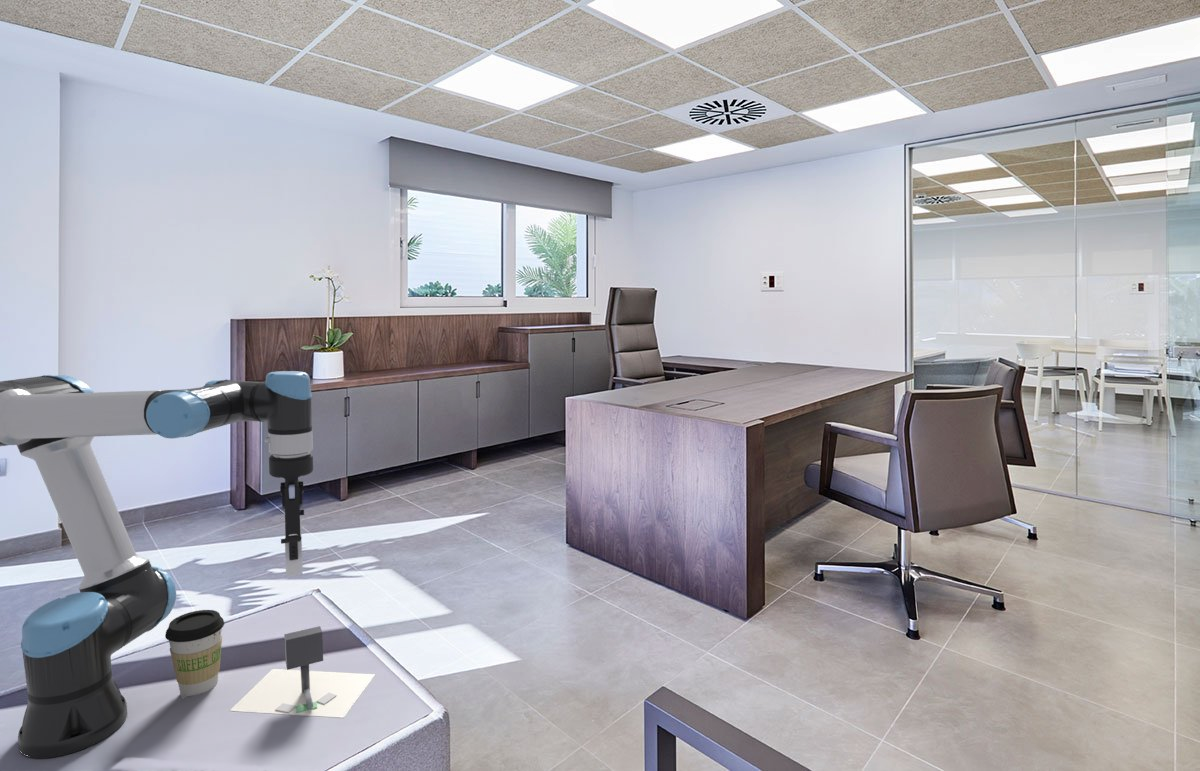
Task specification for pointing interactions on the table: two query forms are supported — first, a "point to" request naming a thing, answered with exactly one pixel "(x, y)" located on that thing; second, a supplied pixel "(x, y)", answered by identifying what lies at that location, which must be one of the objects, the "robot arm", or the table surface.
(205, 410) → the robot arm
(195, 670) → the coffee cup
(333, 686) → the flat cream board
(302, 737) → the table surface
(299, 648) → the dark grey angular piece
